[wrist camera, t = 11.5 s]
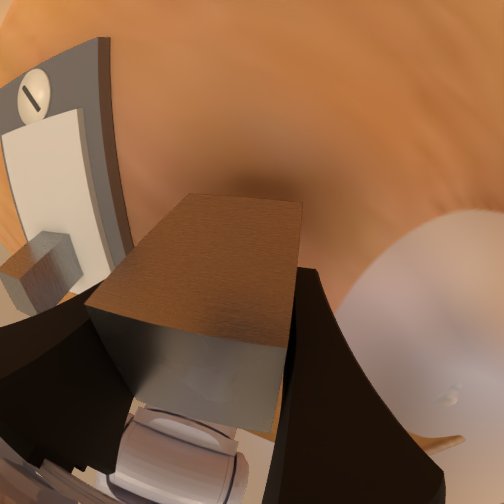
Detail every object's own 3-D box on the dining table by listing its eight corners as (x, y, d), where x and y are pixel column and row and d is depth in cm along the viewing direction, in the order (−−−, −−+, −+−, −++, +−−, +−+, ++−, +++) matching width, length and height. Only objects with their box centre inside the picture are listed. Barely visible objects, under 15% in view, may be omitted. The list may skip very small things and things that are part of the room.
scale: (148, 300, 23) (139, 314, 22) (49, 275, 25) (40, 284, 24) (110, 37, 11) (91, 36, 10) (5, 89, 14) (-9, 93, 12)
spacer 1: (83, 274, 20) (42, 322, 16) (56, 268, 21) (17, 309, 16) (69, 233, 18) (18, 279, 13) (42, 230, 19) (-4, 270, 14)
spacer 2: (291, 294, 11) (270, 433, 6) (198, 281, 12) (136, 400, 7) (302, 202, 9) (287, 348, 4) (189, 193, 10) (83, 304, 5)
